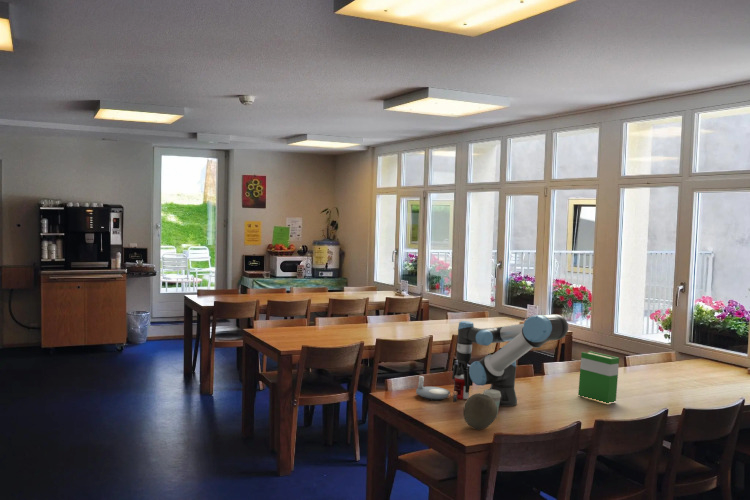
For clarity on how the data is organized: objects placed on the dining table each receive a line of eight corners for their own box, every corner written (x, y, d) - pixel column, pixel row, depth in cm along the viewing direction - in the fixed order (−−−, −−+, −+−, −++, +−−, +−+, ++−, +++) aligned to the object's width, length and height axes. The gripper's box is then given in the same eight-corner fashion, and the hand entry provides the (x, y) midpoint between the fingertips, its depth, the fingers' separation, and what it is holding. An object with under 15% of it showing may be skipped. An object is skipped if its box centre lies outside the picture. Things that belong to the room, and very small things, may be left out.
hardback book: (578, 396, 346) (581, 352, 345) (586, 394, 350) (589, 351, 349) (607, 405, 332) (611, 358, 331) (615, 403, 336) (619, 357, 335)
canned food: (469, 396, 331) (471, 375, 331) (466, 400, 324) (468, 379, 323) (455, 394, 334) (456, 373, 333) (451, 398, 326) (453, 376, 326)
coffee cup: (479, 413, 302) (480, 388, 302) (496, 414, 303) (498, 389, 302) (483, 419, 294) (485, 393, 293) (501, 420, 294) (503, 394, 294)
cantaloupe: (484, 436, 270) (486, 400, 269) (456, 427, 279) (458, 393, 279) (501, 429, 280) (503, 395, 280) (474, 421, 290) (476, 388, 289)
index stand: (457, 401, 321) (458, 391, 320) (444, 405, 313) (445, 394, 313) (431, 393, 332) (432, 383, 332) (418, 397, 325) (419, 386, 325)
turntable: (452, 391, 331) (453, 377, 331) (450, 400, 315) (451, 385, 314) (418, 388, 335) (419, 373, 334) (414, 396, 318) (415, 381, 318)
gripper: (447, 347, 335) (444, 391, 336) (469, 356, 317) (466, 402, 318) (459, 347, 338) (456, 390, 339) (482, 356, 320) (478, 401, 321)
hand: (461, 396), depth 329 cm, fingers closed on canned food, 8 cm apart
